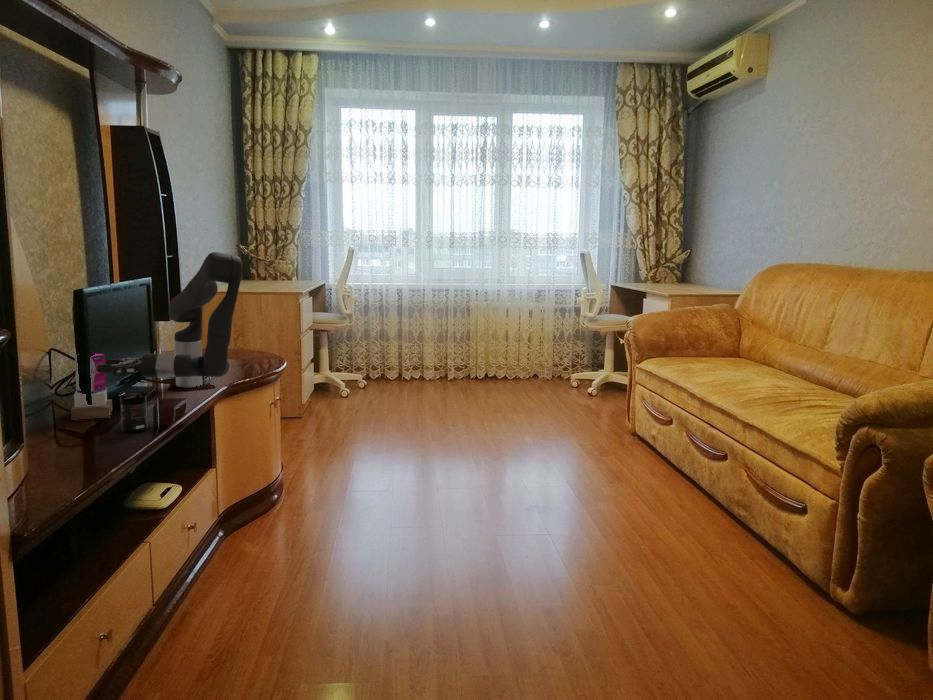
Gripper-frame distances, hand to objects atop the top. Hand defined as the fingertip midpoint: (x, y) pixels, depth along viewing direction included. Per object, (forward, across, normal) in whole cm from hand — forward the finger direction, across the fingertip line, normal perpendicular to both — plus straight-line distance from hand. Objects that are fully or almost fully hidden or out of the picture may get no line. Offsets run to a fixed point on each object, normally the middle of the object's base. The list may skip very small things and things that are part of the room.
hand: (102, 365), depth 192 cm
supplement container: (-12, +16, +16) cm, 26 cm away
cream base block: (+4, -2, +16) cm, 17 cm away
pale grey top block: (+4, -3, +12) cm, 14 cm away
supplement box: (+4, -2, +9) cm, 10 cm away
